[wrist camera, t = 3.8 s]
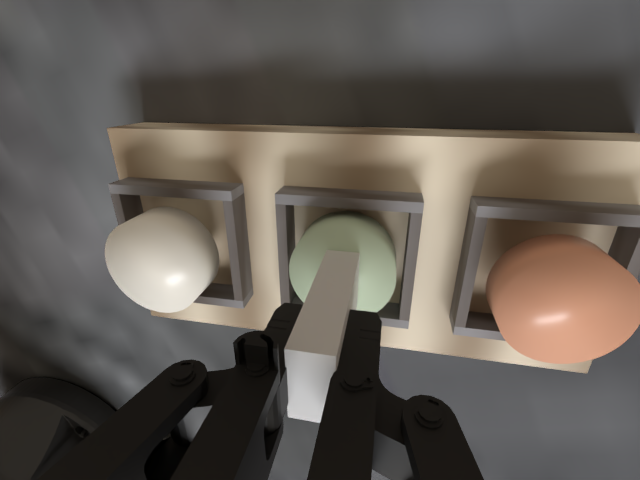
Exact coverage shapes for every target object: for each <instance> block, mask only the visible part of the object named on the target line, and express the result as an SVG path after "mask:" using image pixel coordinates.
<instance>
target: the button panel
mask: <svg viewBox="0 0 640 480" xmlns="http://www.w3.org/2000/svg"><path fill="white" fill-rule="evenodd" d="M107 130H108V135H109V139H110V143H111V147H112V151H113V155H114V160H115V164H116V168H117V172H118V176H119V180H118V181H116V182H113V183H110V184H108V186H109V190H110V194H111V198H112V202H113V205H114V209H115V213H116V217H117V221H118V225H121V224H122V223H124V222H126V221H128V220H130V219H132V218H134V217H136V216H138V215H140V214H142V213H144V212H146V211H148V210H150V209H152V208H156V207H173V208H177V209H180V210H183V211H185V212H187V213H189V214H191V215H192V216H194V217H195V218H197V219H198V220H199V221H200V222H201V223H202V224H203V225H204V226H205V227H206V228H207V229H208V231H209V232H210V233H211V235H212V237H213V238H214V241H215V243H216V245H217V248H218V252H219V260H220V262H219V269H218V273H217V275H216V277H215V279H214V280H213V281H212V282H211V284H210V285H209V286H208V287H207V288H206V289H205V290H204V291H203V292H202V293H201V294H200V295H199V296H198V297H197V299H196V300H195V301H194V302H193V303H192V304H191V305H190V306H188V307H187V308H185V309H183V310H181V311H178V312H173V313H163V312H157V311H153V310H151V315H152V316H159V317H167V318H174V319H182V320H189V321H197V322H204V323H212V324H219V325H227V326H234V327H242V328H249V329H257V330H265V328H266V327H267V324H268V322H269V321H270V319H271V317H272V315H273V313H274V311H275V310H276V309H277V308H278V307H280V306H281V305H282V304H283V303H293V304H302V305H303V304H304V303H303V301H302V300H301V299H300V298H299V297H298V295H297V294H296V292H295V290H294V288H293V286H292V283H291V280H290V275H289V263H290V258H291V255H292V253H293V251H294V249H295V247H296V245H297V244H298V242H299V241H300V239H301V237H302V236H303V234H304V233H305V231H306V230H307V228H308V227H309V226H310V225H311V224H312V223H313V222H314V221H315V220H317V219H318V218H320V217H321V216H323V215H326V214H328V213H332V212H336V211H353V212H358V213H362V214H364V215H367V216H369V217H371V218H373V219H374V220H376V221H377V222H378V223H380V224H381V225H382V226H383V227H384V228H385V229H386V231H387V232H388V233H389V235H390V236H391V238H392V240H393V242H394V245H395V249H396V285H395V289H394V292H393V295H392V296H391V298H390V300H389V301H388V303H387V304H386V305H385V306H384V307H383V308H382V309H381V310H379V311H378V312H377V314H378V315H379V317H380V319H381V321H382V328H381V343H380V346H385V347H392V348H400V349H407V350H415V351H422V352H430V353H437V354H445V355H452V356H460V357H467V358H475V359H482V360H490V361H497V362H505V363H512V364H520V365H527V366H535V367H542V368H550V369H557V370H565V371H572V372H580V373H587V372H588V370H589V367H590V365H591V362H592V360H593V359H592V360H588V361H584V362H579V363H571V364H554V363H546V362H541V361H537V360H534V359H531V358H529V357H526V356H524V355H522V354H521V353H519V352H517V351H516V350H515V349H513V348H512V347H511V346H510V345H509V344H508V343H507V342H506V341H505V339H504V338H503V336H502V334H501V333H500V330H499V328H498V326H497V323H496V321H495V318H494V316H493V313H492V311H491V309H490V306H489V304H488V301H487V297H486V281H487V278H488V275H489V272H490V270H491V268H492V267H493V265H494V264H495V262H496V261H497V260H498V259H499V258H500V257H501V256H502V255H503V254H504V253H505V252H506V251H508V250H509V249H511V248H512V247H513V246H515V245H517V244H519V243H521V242H523V241H526V240H528V239H531V238H534V237H538V236H543V235H551V234H565V235H573V236H577V237H581V238H583V239H586V240H588V241H590V242H592V243H594V244H595V245H597V246H598V247H599V248H601V249H602V250H603V251H604V252H606V253H607V254H608V255H609V256H611V257H612V258H613V259H614V260H615V261H617V262H618V263H619V264H620V265H622V266H623V267H624V268H625V269H626V270H628V271H629V272H630V273H631V274H632V275H633V276H634V277H635V278H636V279H637V278H638V275H639V273H640V134H637V133H610V132H565V131H519V130H473V129H427V128H382V127H336V126H290V125H245V124H199V123H153V122H142V123H136V124H130V125H123V126H117V127H110V128H107Z"/></svg>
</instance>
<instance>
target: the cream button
mask: <svg viewBox="0 0 640 480" xmlns="http://www.w3.org/2000/svg"><path fill="white" fill-rule="evenodd" d="M105 259H106V264H107V267H108V270H109V272H110V274H111V276H112V278H113V280H114V281H115V283H116V284H117V285H118V287H119V288H120V289H121V290H122V291H123V292H124V293H125V294H126V295H127V296H128V297H129V298H130V299H132V300H133V301H134V302H136V303H137V304H139V305H141V306H143V307H145V308H147V309H150V310H153V311H157V312H163V313H173V312H178V311H181V310H183V309H185V308H187V307H188V306H190V305H191V304H192V303H193V302H194V301H195V300H196V299H197V297H198V296H199V295H200V294H201V293H202V292H203V291H204V290H205V289H206V288H207V287H208V286H209V285H210V284H211V282H212V281H213V280H214V279H215V277H216V275H217V273H218V269H219V262H220V260H219V252H218V248H217V245H216V243H215V241H214V238H213V237H212V235H211V233H210V232H209V231H208V229H207V228H206V227H205V226H204V225H203V224H202V223H201V222H200V221H199V220H198V219H197V218H195V217H194V216H192V215H191V214H189V213H187V212H185V211H183V210H180V209H177V208H173V207H156V208H152V209H150V210H148V211H146V212H144V213H142V214H140V215H138V216H136V217H134V218H132V219H130V220H128V221H126V222H124V223H122V224H121V225H119V226H117V227H116V228H115V229H114V230H113V231H112V232H111V233H110V235H109V236H108V239H107V241H106V245H105Z"/></svg>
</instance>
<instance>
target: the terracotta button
mask: <svg viewBox="0 0 640 480" xmlns="http://www.w3.org/2000/svg"><path fill="white" fill-rule="evenodd" d="M486 297H487V301H488V304H489V306H490V309H491V311H492V313H493V316H494V318H495V321H496V323H497V326H498V328H499V330H500V333H501V334H502V336H503V338H504V339H505V341H506V342H507V343H508V344H509V345H510V346H511V347H512V348H513V349H515V350H516V351H517V352H519V353H521V354H522V355H524V356H526V357H529V358H531V359H534V360H537V361H541V362H546V363H554V364H571V363H579V362H584V361H588V360H592V359H595V358H598V357H600V356H603V355H605V354H607V353H609V352H611V351H613V350H614V349H616V348H618V347H619V346H620V345H622V344H623V343H624V342H625V341H627V340H628V339H629V338H630V337H631V336H632V334H633V333H634V332H635V330H636V329H637V328H638V326H639V324H640V284H639V282H638V281H637V279H636V278H635V277H634V276H633V275H632V274H631V273H630V272H629V271H628V270H626V269H625V268H624V267H623V266H622V265H620V264H619V263H618V262H617V261H615V260H614V259H613V258H612V257H611V256H609V255H608V254H607V253H606V252H604V251H603V250H602V249H601V248H599V247H598V246H597V245H595V244H594V243H592V242H590V241H588V240H586V239H583V238H581V237H577V236H573V235H565V234H551V235H543V236H538V237H534V238H531V239H528V240H526V241H523V242H521V243H519V244H517V245H515V246H513V247H512V248H511V249H509V250H508V251H506V252H505V253H504V254H503V255H502V256H501V257H500V258H499V259H498V260H497V261H496V262H495V264H494V265H493V267H492V268H491V270H490V272H489V275H488V278H487V281H486Z"/></svg>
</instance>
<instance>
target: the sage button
mask: <svg viewBox="0 0 640 480" xmlns="http://www.w3.org/2000/svg"><path fill="white" fill-rule="evenodd" d="M326 250H334V251H346V252H357V253H360V262H359V282H358V301H357V309H356V310H360V311H369V312H378V311H379V310H381V309H382V308H383V307H384V306H385V305H386V304H387V303H388V301H389V300H390V298H391V296H392V295H393V292H394V289H395V285H396V249H395V245H394V242H393V240H392V238H391V236H390V235H389V233H388V232H387V231H386V229H385V228H384V227H383V226H382V225H381V224H380V223H378V222H377V221H376V220H374V219H373V218H371V217H369V216H367V215H364V214H362V213H358V212H353V211H336V212H332V213H328V214H326V215H323V216H321V217H320V218H318V219H317V220H315V221H314V222H313V223H312V224H311V225H310V226H309V227H308V228H307V230H306V231H305V233H304V234H303V236H302V237H301V239H300V241H299V242H298V244H297V245H296V247H295V249H294V251H293V253H292V255H291V258H290V263H289V275H290V280H291V283H292V286H293V288H294V290H295V292H296V294H297V295H298V297H299V298H300V299H301V300H302V301H303V303H304V302H305V299H306V297H307V295H308V292H309V290H310V288H311V285H312V283H313V281H314V278H315V276H316V274H317V271H318V269H319V267H320V264H321V262H322V260H323V257H324V255H325V253H326Z"/></svg>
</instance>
